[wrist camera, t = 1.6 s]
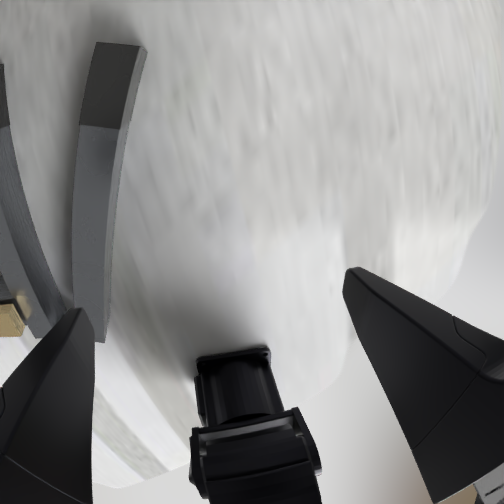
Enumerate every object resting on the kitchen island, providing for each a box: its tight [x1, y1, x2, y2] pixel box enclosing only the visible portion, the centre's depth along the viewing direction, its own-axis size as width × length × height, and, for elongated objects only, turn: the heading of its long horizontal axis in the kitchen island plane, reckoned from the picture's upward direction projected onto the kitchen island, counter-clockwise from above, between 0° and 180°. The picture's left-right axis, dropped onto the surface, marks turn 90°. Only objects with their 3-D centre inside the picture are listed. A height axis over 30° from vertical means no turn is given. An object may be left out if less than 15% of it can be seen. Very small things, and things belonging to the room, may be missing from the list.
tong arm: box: [72, 42, 148, 343], centre depth 16 cm, size 4×21×3 cm, turn 163°
